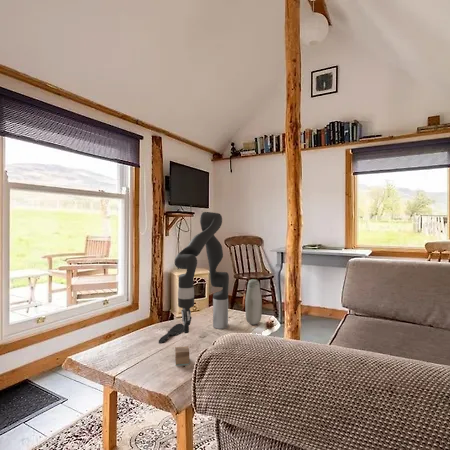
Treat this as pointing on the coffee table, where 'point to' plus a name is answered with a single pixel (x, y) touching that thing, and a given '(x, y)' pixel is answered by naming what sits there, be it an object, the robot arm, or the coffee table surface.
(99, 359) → the coffee table surface
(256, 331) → the coffee table surface
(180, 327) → the hairbrush
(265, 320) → the coffee table surface
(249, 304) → the grey green rounded cylinder
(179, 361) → the two tone block
